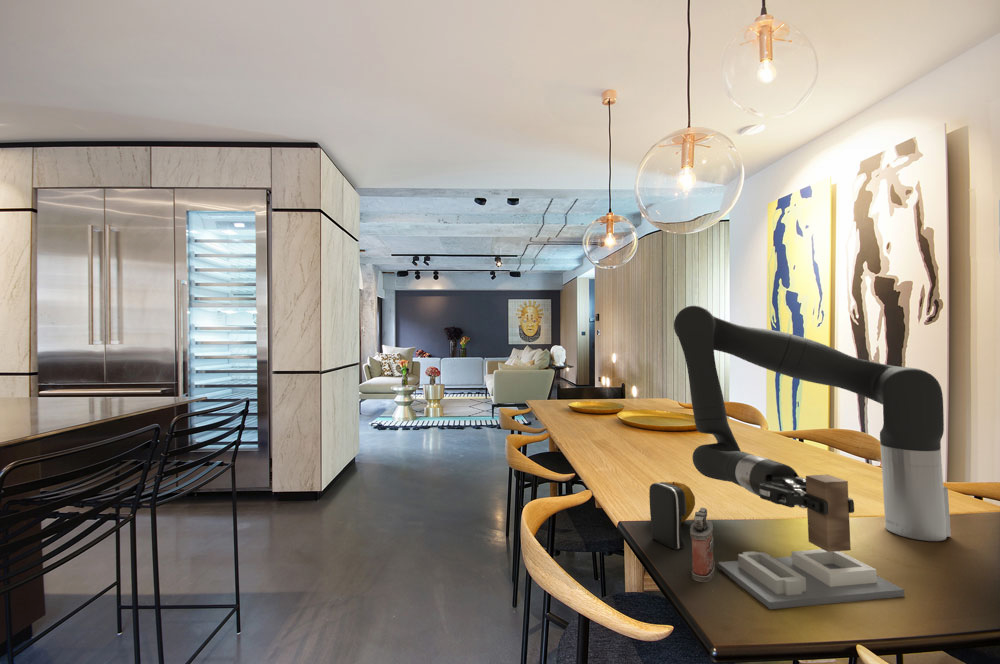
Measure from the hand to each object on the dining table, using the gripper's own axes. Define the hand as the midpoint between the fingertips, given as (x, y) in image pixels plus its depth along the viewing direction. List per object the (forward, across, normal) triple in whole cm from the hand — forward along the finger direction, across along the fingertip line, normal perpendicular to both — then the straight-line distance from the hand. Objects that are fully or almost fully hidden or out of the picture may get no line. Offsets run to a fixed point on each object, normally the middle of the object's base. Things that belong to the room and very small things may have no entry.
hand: (838, 507), depth 74 cm
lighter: (-8, -19, +13) cm, 24 cm away
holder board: (-2, -5, +12) cm, 13 cm away
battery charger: (-20, -19, +13) cm, 30 cm away
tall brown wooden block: (-2, 0, +7) cm, 7 cm away
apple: (-30, -13, +13) cm, 35 cm away
